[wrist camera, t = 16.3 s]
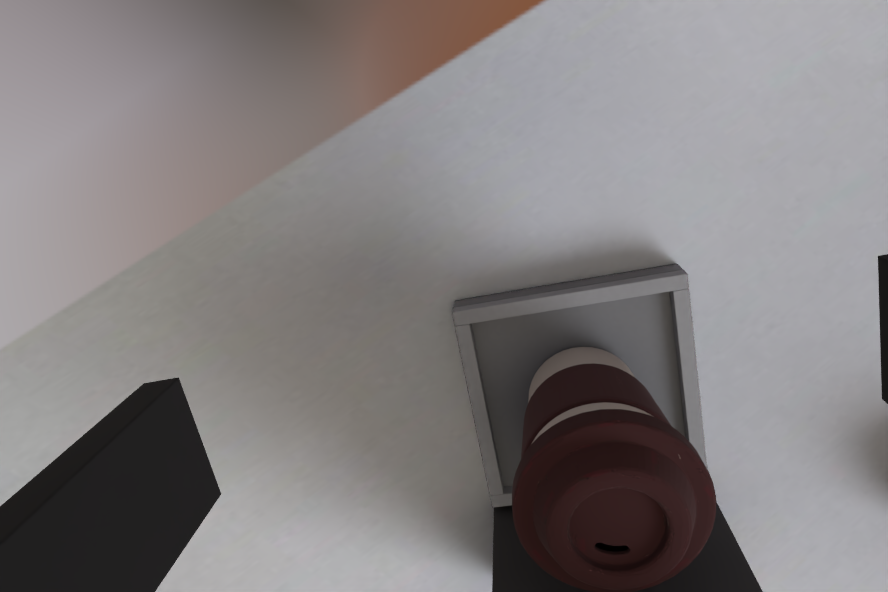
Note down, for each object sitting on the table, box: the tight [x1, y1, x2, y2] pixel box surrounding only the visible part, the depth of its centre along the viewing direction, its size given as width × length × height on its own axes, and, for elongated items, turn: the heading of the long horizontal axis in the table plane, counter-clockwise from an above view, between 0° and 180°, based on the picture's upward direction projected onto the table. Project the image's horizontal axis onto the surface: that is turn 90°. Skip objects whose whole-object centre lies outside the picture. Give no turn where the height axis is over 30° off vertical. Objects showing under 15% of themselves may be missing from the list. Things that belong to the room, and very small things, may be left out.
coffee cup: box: [512, 347, 716, 592], centre depth 39 cm, size 10×10×15 cm
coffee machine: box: [452, 264, 763, 592], centre depth 34 cm, size 24×15×31 cm, turn 11°
